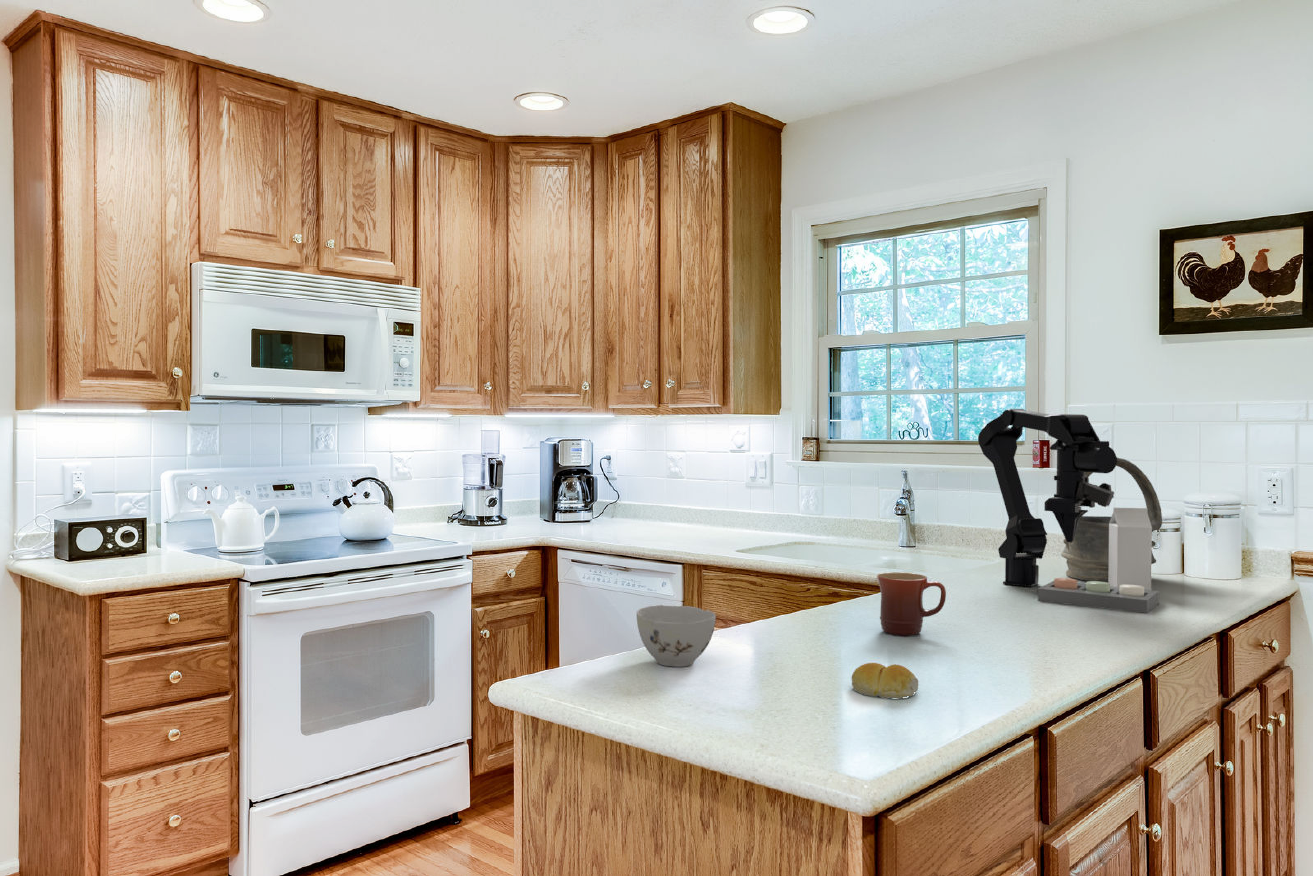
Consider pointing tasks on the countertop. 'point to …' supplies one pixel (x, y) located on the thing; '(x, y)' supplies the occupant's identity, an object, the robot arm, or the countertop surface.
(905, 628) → the mug
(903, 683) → the bread roll
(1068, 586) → the terracotta button
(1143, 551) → the milk carton
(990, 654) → the countertop surface
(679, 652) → the teacup
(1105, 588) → the sage button
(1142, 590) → the cream button
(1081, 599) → the panel
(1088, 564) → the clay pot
